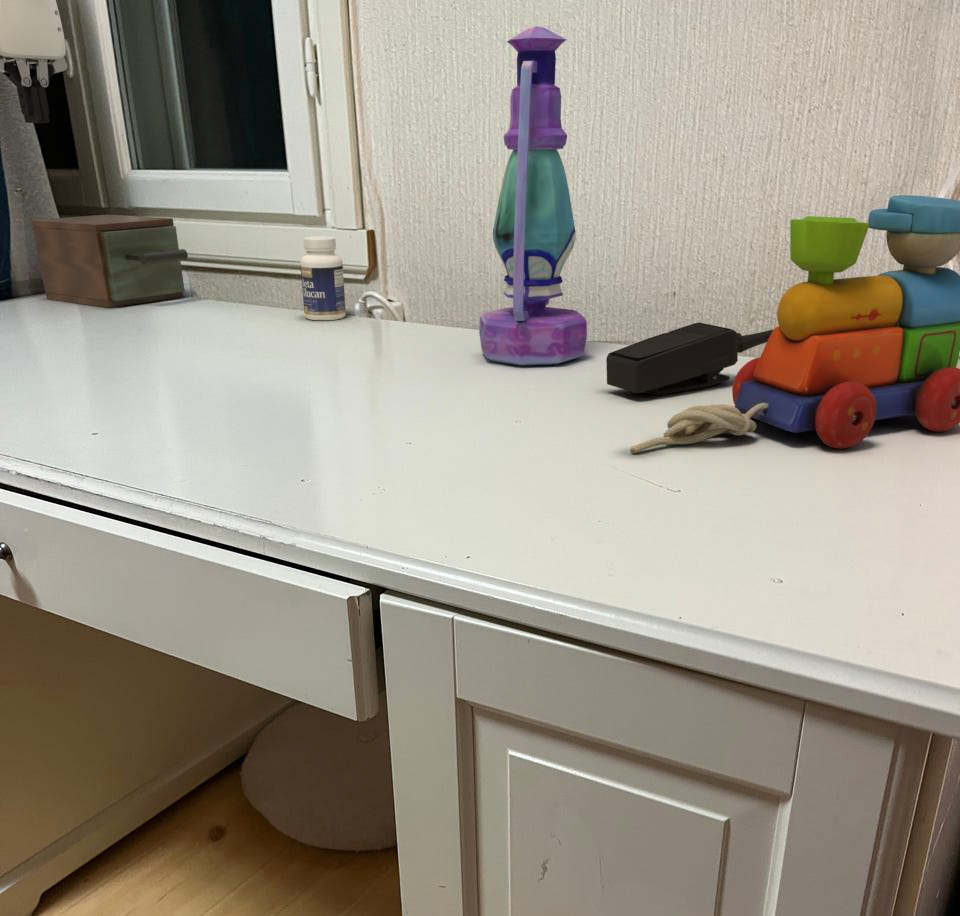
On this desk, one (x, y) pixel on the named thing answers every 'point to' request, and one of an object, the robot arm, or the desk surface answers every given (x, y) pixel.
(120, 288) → the drawer
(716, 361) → the walkie-talkie
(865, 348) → the toy train
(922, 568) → the desk surface
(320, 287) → the pill bottle
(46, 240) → the cabinet
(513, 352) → the lantern
